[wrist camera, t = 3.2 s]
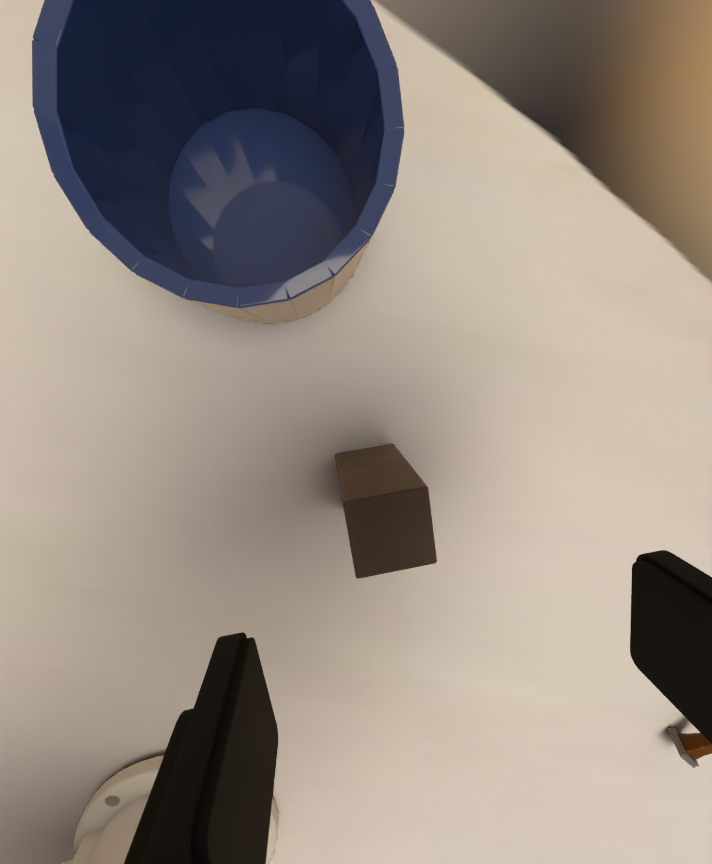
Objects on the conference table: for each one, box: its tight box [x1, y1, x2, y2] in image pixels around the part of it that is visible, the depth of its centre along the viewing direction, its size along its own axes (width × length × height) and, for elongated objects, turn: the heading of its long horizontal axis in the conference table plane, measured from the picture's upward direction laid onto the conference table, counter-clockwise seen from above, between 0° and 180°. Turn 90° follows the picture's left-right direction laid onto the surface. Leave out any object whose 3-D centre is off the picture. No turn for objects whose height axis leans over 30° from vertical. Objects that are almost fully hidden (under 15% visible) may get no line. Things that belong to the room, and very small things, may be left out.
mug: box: [32, 0, 404, 323], centre depth 14 cm, size 13×10×8 cm
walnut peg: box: [335, 444, 437, 578], centre depth 19 cm, size 3×3×7 cm
